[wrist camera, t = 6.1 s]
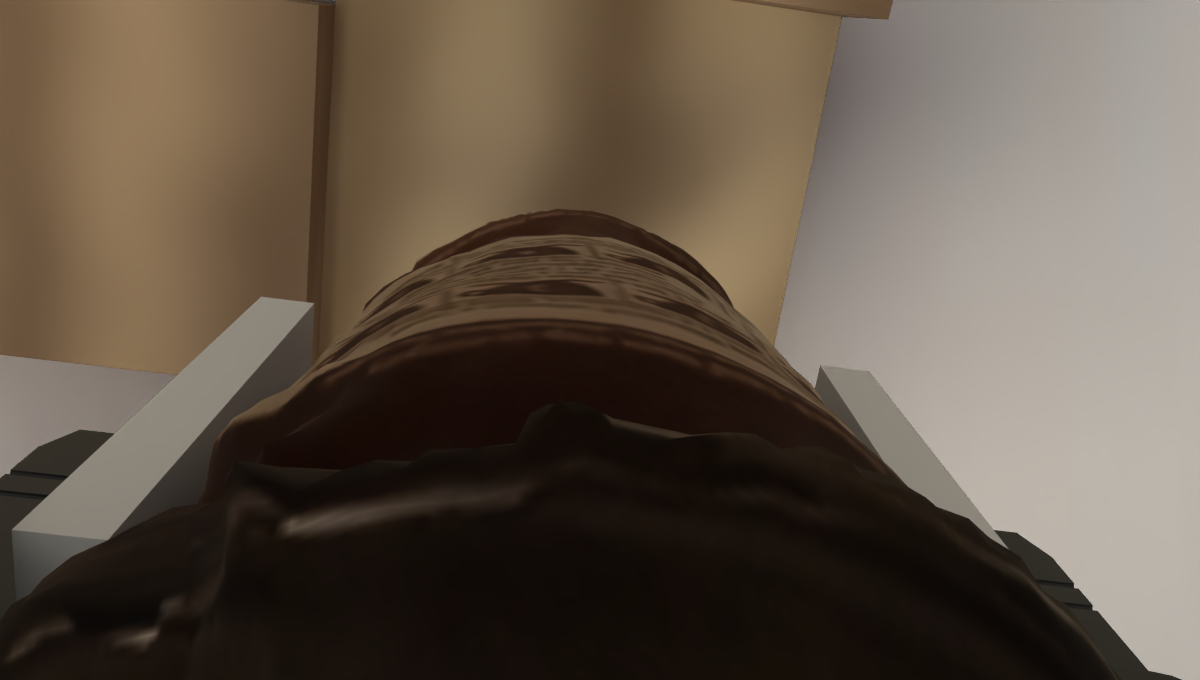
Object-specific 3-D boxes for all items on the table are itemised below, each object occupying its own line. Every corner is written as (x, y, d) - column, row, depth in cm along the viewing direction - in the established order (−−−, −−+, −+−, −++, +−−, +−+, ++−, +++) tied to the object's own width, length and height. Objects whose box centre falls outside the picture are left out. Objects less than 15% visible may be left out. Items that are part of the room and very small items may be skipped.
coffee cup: (307, 82, 15) (-1166, 519, 2) (853, 144, 15) (2078, 790, 3) (298, 585, 17) (-379, 1989, 5) (759, 624, 18) (1154, 2003, 6)
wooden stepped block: (-229, 371, 29) (-380, 441, 24) (-313, -196, 24) (-520, -242, 19) (738, 481, 31) (767, 564, 26) (842, -23, 26) (898, -29, 21)
